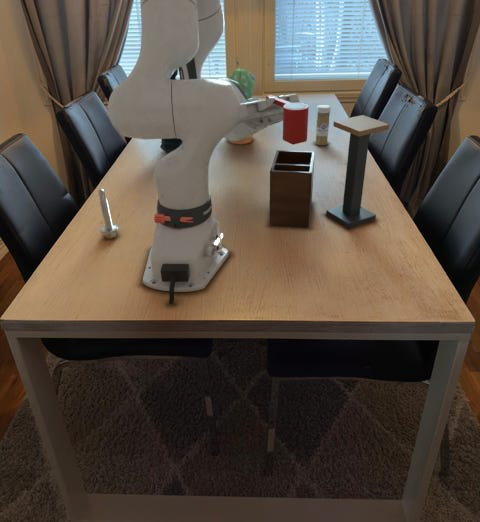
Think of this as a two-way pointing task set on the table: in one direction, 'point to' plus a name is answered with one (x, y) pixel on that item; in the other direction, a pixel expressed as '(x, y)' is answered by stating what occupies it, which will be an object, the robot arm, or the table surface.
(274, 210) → the caddy
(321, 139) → the sprinkles bottle
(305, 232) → the table surface
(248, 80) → the potted cactus
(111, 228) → the screw
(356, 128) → the stand
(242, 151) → the table surface
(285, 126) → the cup
